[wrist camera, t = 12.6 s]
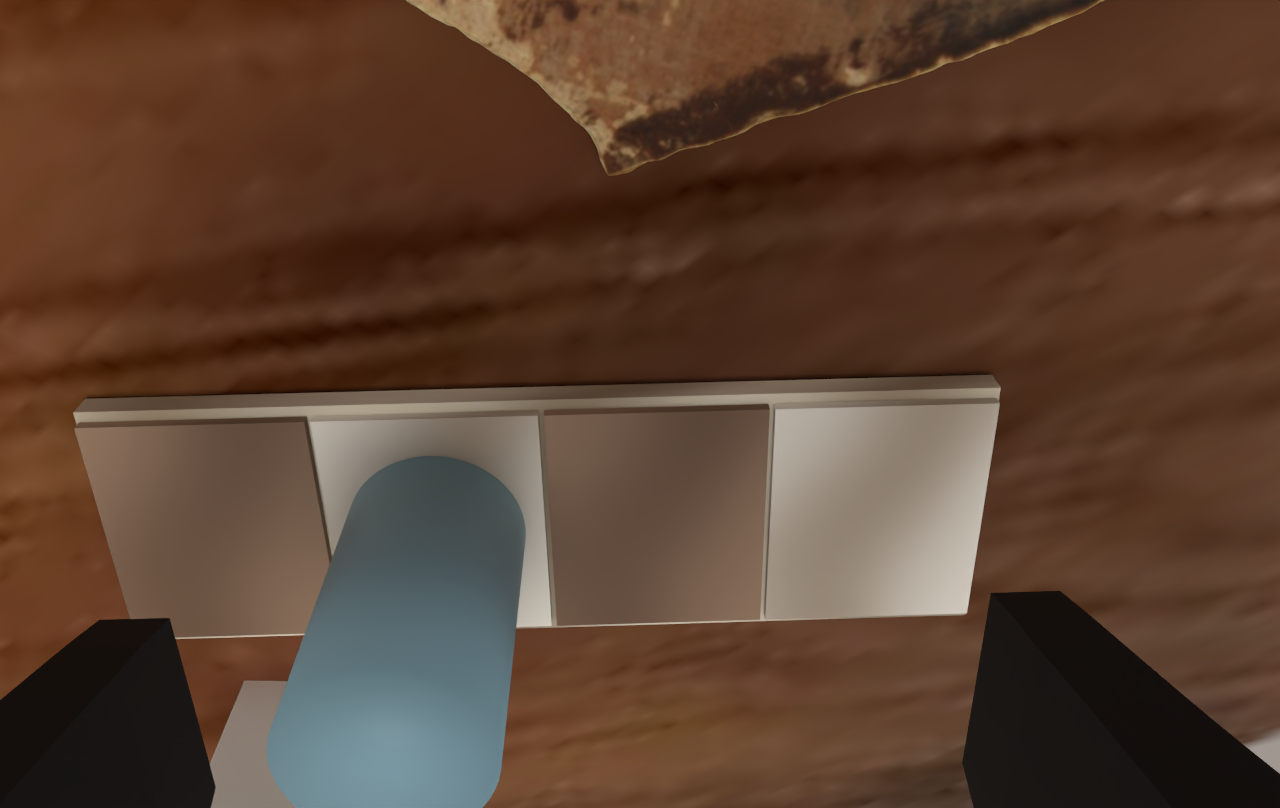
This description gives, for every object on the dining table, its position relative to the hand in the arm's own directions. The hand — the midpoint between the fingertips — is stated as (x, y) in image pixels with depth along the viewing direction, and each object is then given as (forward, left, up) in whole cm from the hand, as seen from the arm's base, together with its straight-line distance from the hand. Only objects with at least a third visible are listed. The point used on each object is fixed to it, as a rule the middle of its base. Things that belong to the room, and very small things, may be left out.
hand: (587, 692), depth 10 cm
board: (+1, +5, -10) cm, 11 cm away
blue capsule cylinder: (+3, +5, -9) cm, 11 cm away
